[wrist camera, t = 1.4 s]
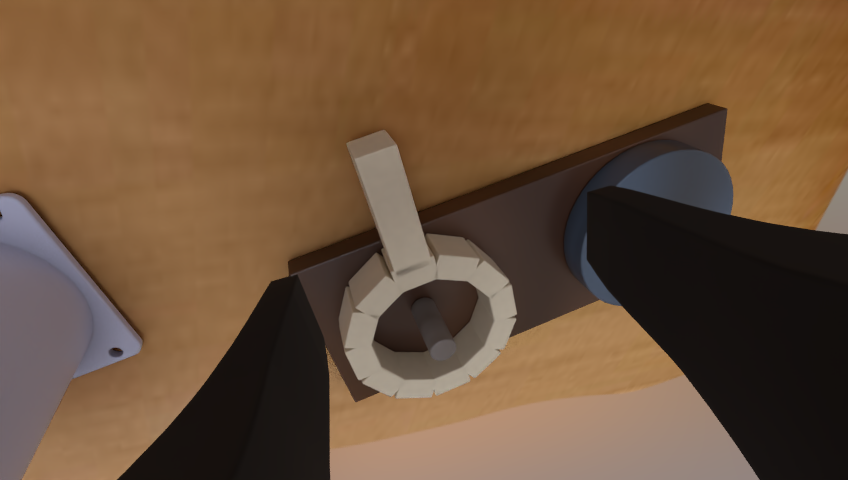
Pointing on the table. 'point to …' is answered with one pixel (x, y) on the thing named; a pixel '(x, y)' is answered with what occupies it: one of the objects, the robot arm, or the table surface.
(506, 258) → the rack
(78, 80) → the table surface
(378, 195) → the ring
